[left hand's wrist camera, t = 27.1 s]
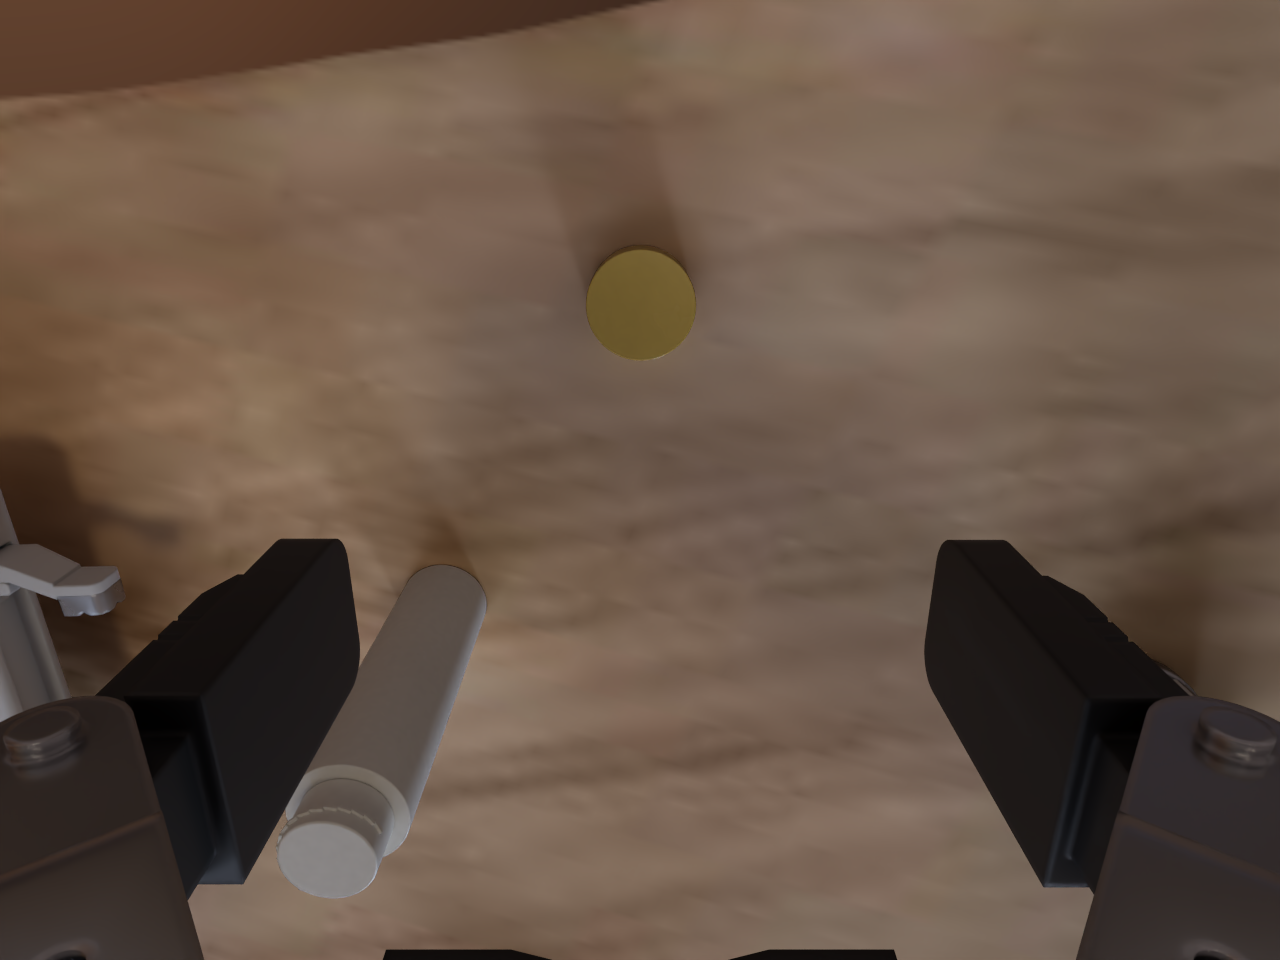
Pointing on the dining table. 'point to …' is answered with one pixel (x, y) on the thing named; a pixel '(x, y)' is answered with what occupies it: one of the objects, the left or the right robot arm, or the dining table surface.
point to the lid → (640, 303)
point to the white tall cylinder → (383, 738)
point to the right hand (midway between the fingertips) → (142, 683)
